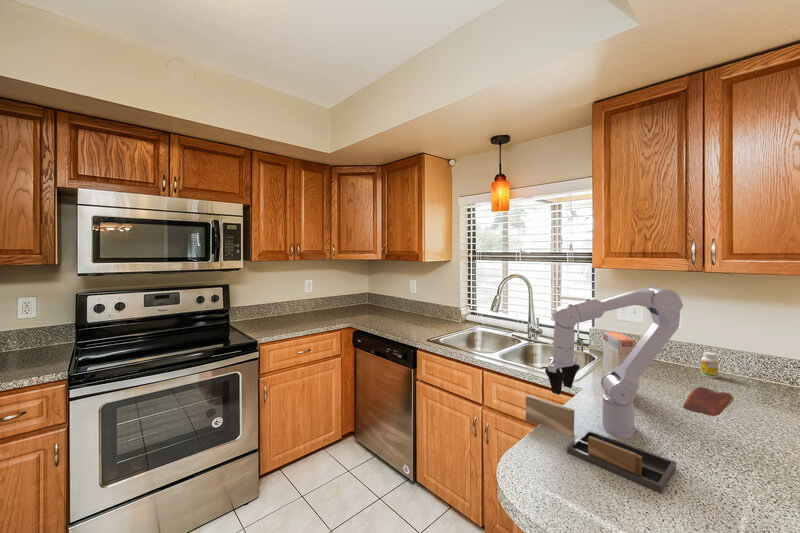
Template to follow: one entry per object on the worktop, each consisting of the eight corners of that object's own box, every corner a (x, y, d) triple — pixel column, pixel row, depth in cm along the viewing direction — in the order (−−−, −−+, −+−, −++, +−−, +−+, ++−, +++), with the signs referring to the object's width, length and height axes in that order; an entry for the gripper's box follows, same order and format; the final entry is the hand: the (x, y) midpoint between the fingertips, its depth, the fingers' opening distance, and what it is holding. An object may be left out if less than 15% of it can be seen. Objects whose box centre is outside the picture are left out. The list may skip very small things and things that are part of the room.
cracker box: (635, 398, 123) (636, 340, 122) (616, 397, 124) (617, 339, 124) (618, 383, 137) (619, 331, 136) (601, 382, 138) (603, 330, 137)
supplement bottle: (719, 379, 141) (720, 355, 141) (702, 376, 144) (703, 354, 143) (715, 374, 146) (716, 352, 145) (699, 372, 148) (699, 350, 148)
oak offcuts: (592, 453, 89) (593, 432, 89) (643, 474, 81) (643, 451, 80) (587, 458, 87) (587, 437, 87) (638, 480, 79) (639, 457, 78)
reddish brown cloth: (696, 388, 133) (696, 384, 133) (732, 397, 125) (732, 392, 125) (677, 408, 116) (677, 403, 116) (717, 419, 109) (717, 414, 108)
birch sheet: (528, 419, 109) (528, 394, 108) (573, 437, 98) (574, 409, 98) (525, 421, 108) (525, 395, 107) (571, 439, 97) (572, 411, 97)
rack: (587, 437, 98) (587, 429, 98) (675, 471, 83) (676, 462, 83) (566, 455, 90) (567, 446, 89) (661, 496, 74) (661, 486, 74)
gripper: (561, 339, 112) (559, 380, 113) (539, 347, 103) (537, 392, 104) (584, 344, 107) (582, 387, 108) (562, 353, 98) (561, 400, 98)
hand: (562, 390), depth 105 cm, fingers open, 7 cm apart
